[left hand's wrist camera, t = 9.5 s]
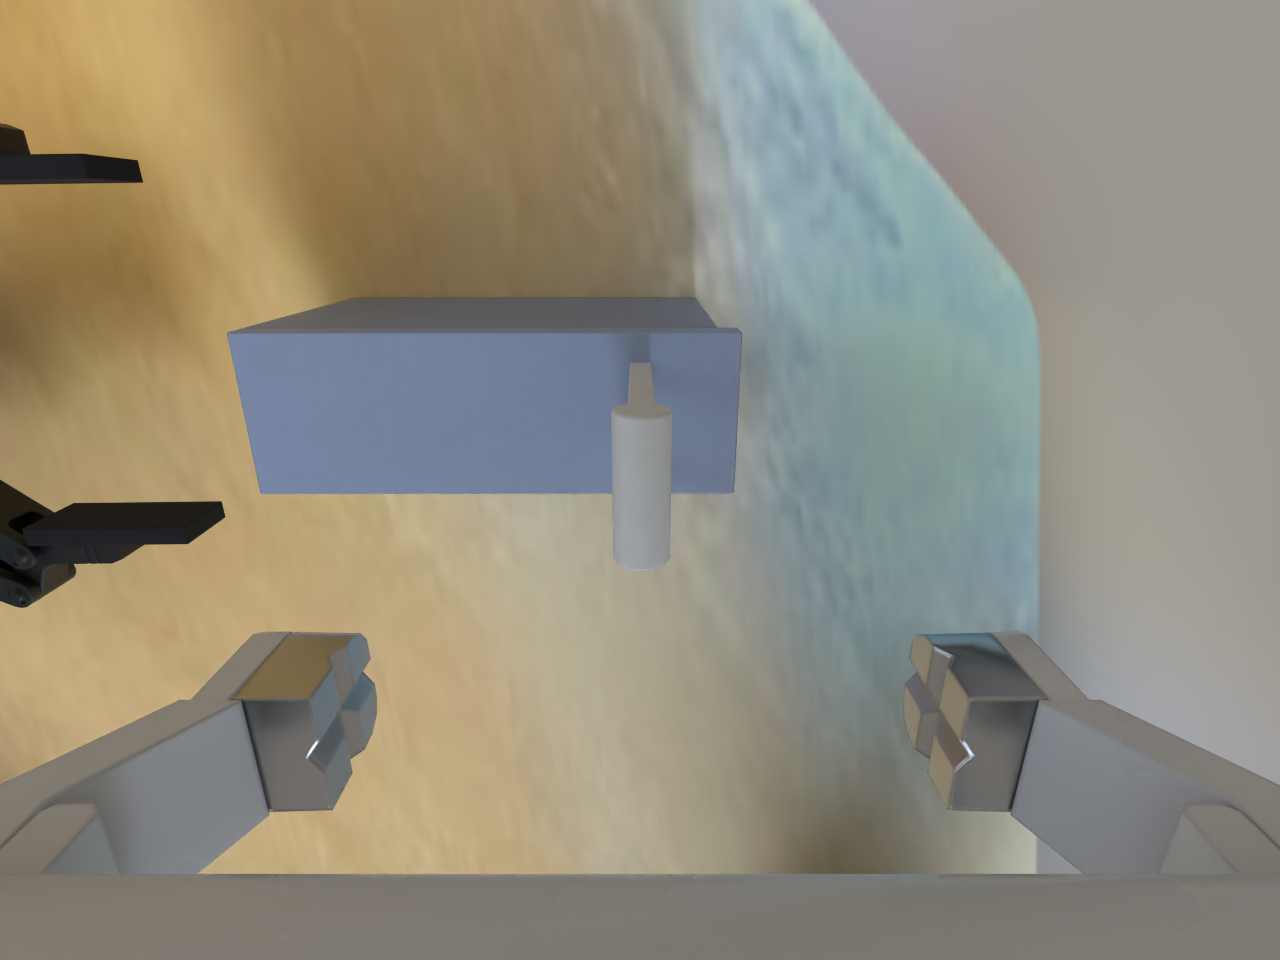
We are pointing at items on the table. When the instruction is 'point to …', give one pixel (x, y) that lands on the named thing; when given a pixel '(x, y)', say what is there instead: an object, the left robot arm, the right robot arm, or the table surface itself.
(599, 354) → the lid
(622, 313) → the chest
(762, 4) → the table surface
